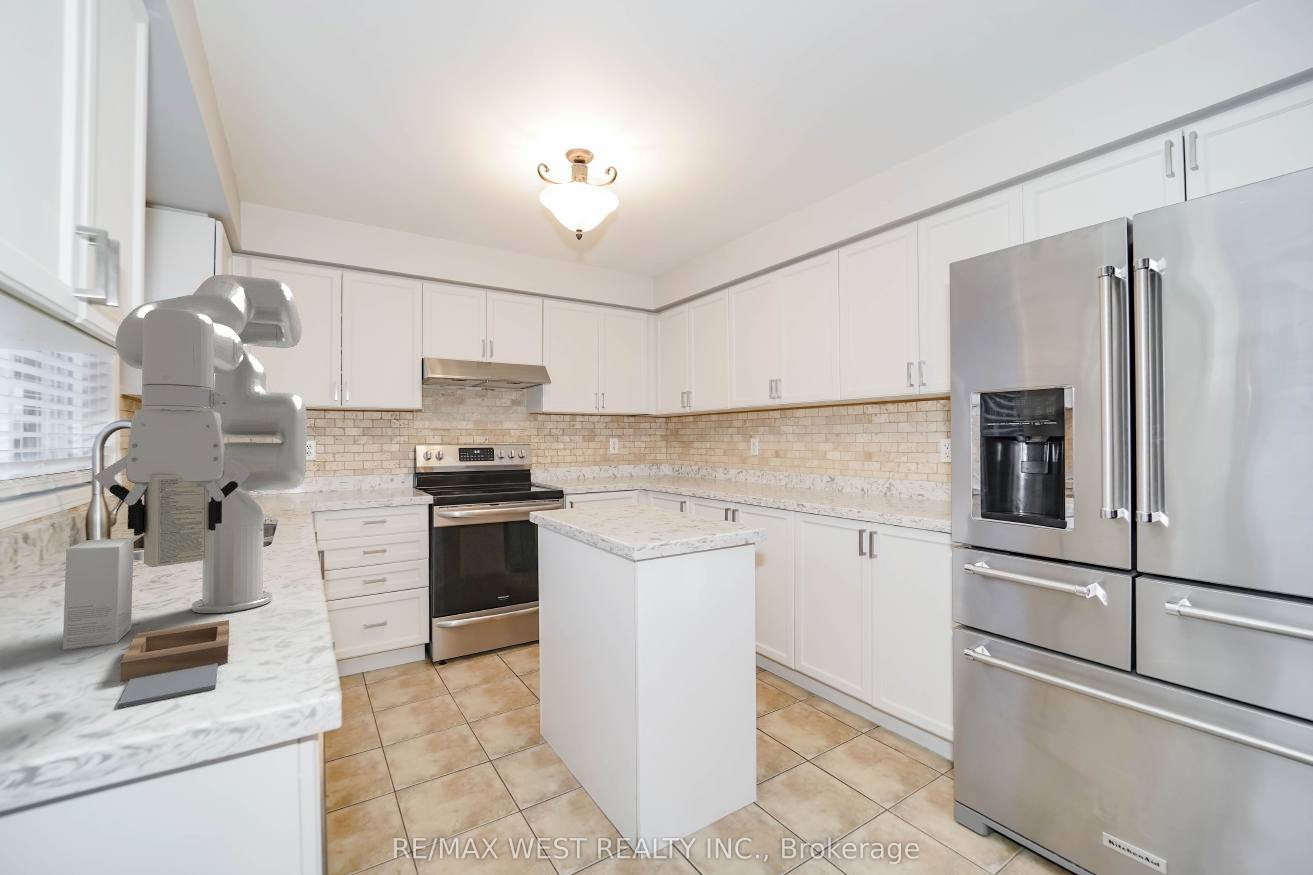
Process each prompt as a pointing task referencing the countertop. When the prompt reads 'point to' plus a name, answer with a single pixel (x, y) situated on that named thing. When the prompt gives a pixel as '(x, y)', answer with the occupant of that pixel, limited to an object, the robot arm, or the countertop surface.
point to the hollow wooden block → (176, 649)
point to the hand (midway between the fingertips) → (176, 530)
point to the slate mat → (169, 685)
